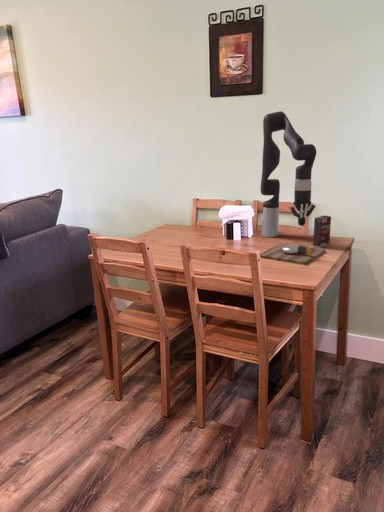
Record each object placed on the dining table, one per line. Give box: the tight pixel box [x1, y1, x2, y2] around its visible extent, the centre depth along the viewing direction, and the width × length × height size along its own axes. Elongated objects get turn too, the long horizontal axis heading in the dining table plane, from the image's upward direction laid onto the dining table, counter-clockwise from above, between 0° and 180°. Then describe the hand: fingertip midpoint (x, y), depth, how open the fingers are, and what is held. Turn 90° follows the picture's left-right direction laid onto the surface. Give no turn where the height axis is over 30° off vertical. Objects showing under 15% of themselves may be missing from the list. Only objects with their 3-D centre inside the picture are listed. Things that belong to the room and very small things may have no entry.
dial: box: [282, 244, 312, 255], centre depth 212 cm, size 16×10×4 cm, turn 38°
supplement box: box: [312, 214, 332, 249], centre depth 225 cm, size 9×5×16 cm, turn 128°
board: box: [259, 243, 326, 266], centre depth 215 cm, size 25×25×2 cm
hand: (301, 225), depth 202 cm, fingers closed
